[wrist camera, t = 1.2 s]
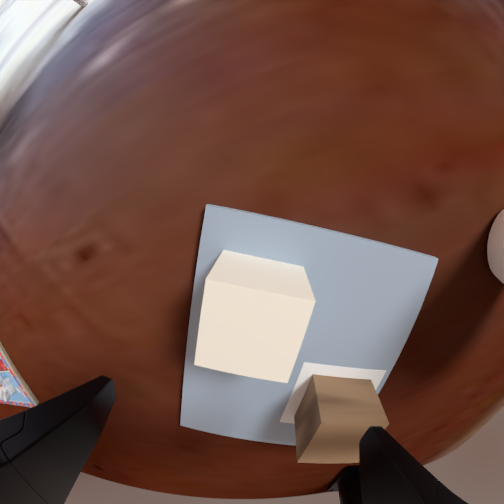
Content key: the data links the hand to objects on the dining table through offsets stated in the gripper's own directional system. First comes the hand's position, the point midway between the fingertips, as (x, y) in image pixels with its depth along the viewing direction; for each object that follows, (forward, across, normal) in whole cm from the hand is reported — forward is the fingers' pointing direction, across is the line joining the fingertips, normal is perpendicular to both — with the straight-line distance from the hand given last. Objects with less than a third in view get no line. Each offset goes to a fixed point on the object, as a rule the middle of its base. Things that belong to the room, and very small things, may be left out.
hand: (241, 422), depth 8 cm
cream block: (+10, 0, 0) cm, 10 cm away
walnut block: (+10, -8, +8) cm, 15 cm away
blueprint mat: (+11, -4, +5) cm, 13 cm away
